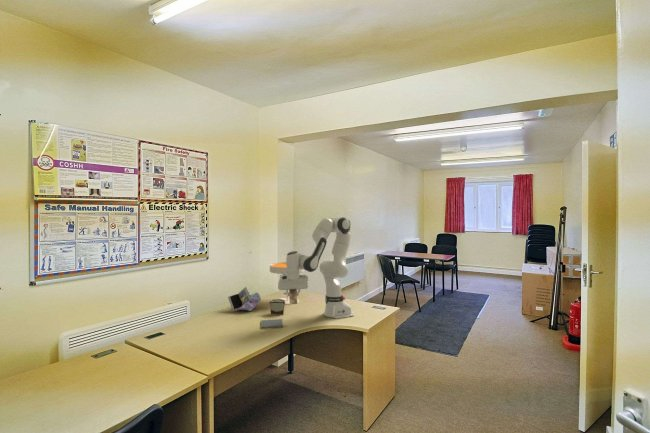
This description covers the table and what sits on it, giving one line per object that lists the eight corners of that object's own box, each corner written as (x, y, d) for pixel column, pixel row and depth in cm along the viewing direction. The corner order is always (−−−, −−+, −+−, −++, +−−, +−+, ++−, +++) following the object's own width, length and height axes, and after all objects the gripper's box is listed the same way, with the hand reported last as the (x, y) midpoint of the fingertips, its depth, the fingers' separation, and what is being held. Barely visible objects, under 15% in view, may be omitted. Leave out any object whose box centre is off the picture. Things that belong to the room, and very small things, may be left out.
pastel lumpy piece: (266, 300, 265) (255, 281, 266) (257, 306, 243) (245, 285, 245) (245, 312, 267) (235, 293, 268) (234, 320, 245) (223, 299, 247)
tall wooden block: (296, 300, 230) (295, 287, 230) (297, 304, 221) (297, 290, 221) (289, 301, 230) (289, 288, 229) (290, 304, 221) (290, 291, 220)
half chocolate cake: (287, 312, 249) (287, 299, 249) (285, 314, 243) (285, 301, 243) (271, 311, 250) (271, 298, 250) (268, 314, 244) (268, 300, 244)
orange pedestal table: (292, 295, 300) (292, 260, 300) (311, 302, 278) (312, 264, 277) (263, 300, 282) (263, 264, 281) (281, 308, 259) (281, 268, 258)
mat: (281, 320, 230) (281, 319, 230) (283, 327, 216) (283, 325, 216) (261, 321, 228) (261, 320, 228) (261, 328, 214) (261, 327, 214)
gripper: (307, 273, 230) (307, 293, 230) (277, 275, 226) (278, 295, 227) (308, 275, 224) (308, 296, 224) (278, 277, 220) (278, 297, 220)
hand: (293, 295), depth 225 cm, fingers closed on tall wooden block, 5 cm apart
